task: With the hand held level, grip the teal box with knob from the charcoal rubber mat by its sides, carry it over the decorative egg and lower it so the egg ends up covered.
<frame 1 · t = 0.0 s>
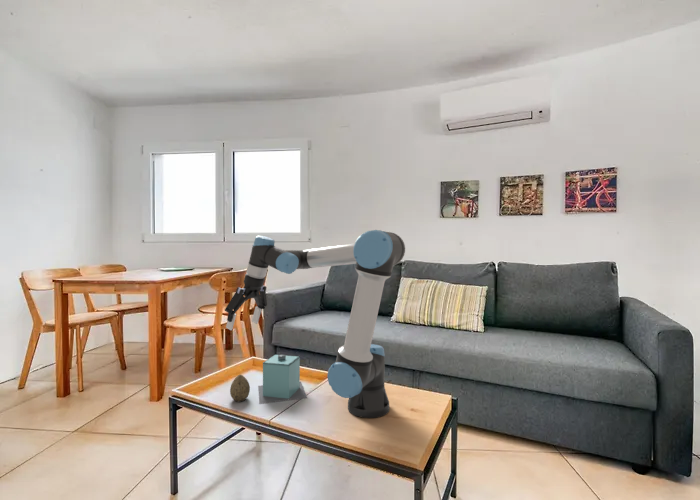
hand: (242, 325, 135), 28 cm above the table, tool tilted 20°, fingers open, 13 cm apart
teal box with knob: (281, 391, 138), resting on mat
decorative egg: (240, 401, 130), on the table
mat: (281, 392, 138), on the table
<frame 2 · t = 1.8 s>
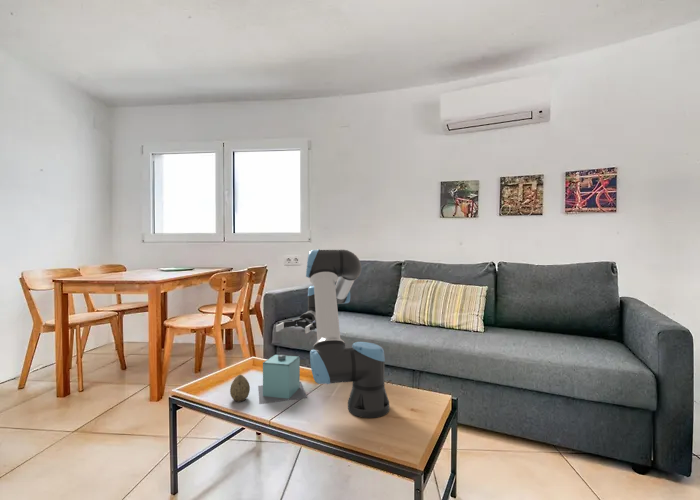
hand: (291, 329, 147), 24 cm above the table, tool horizontal, fingers open, 13 cm apart
nothing on the table moved.
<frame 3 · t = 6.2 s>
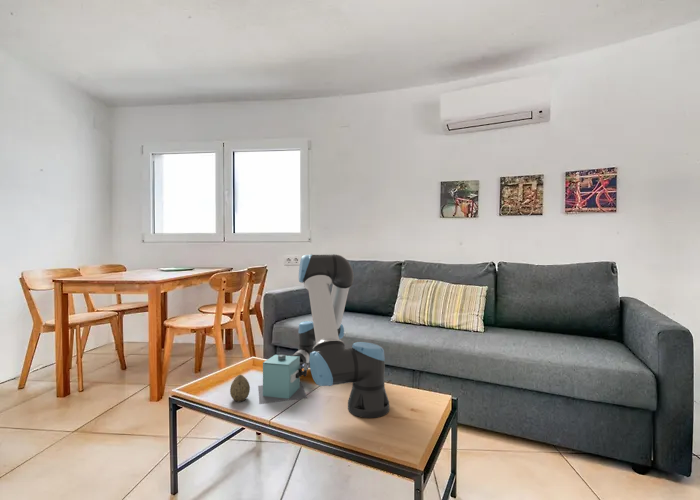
hand: (277, 377, 134), 7 cm above the table, tool horizontal, fingers closed on teal box with knob, 11 cm apart
teal box with knob: (281, 391, 138), point 1 cm above the table, touching gripper, mat
everything else where it was.
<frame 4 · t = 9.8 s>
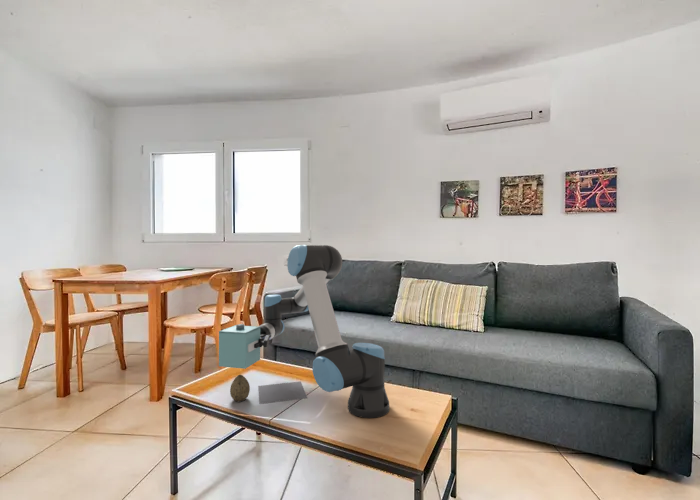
hand: (234, 347, 127), 21 cm above the table, tool horizontal, fingers closed on teal box with knob, 11 cm apart
teal box with knob: (240, 362, 130), point 14 cm above the table, touching gripper
everything else where it was.
when the fingers open (8 cm above the table, at t = 13.3 s): teal box with knob drops 1 cm, resting on mat.
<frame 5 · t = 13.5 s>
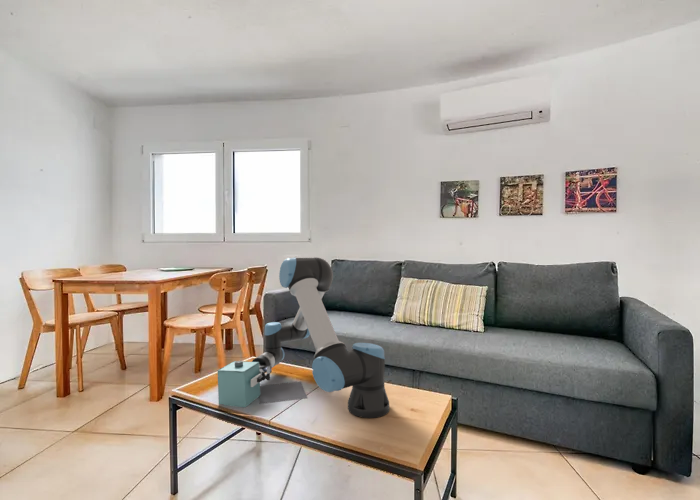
hand: (235, 381, 127), 8 cm above the table, tool horizontal, fingers open, 13 cm apart
teal box with knob: (240, 400, 130), resting on mat
everything else where it was.
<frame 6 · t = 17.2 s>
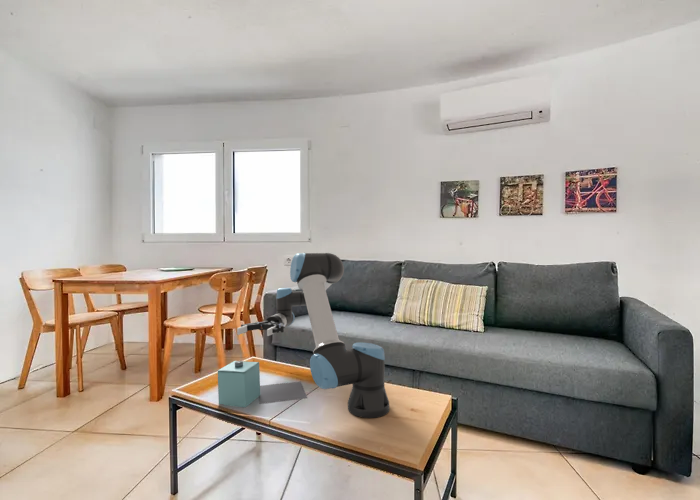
hand: (252, 332, 141), 24 cm above the table, tool horizontal, fingers open, 13 cm apart
nothing on the table moved.
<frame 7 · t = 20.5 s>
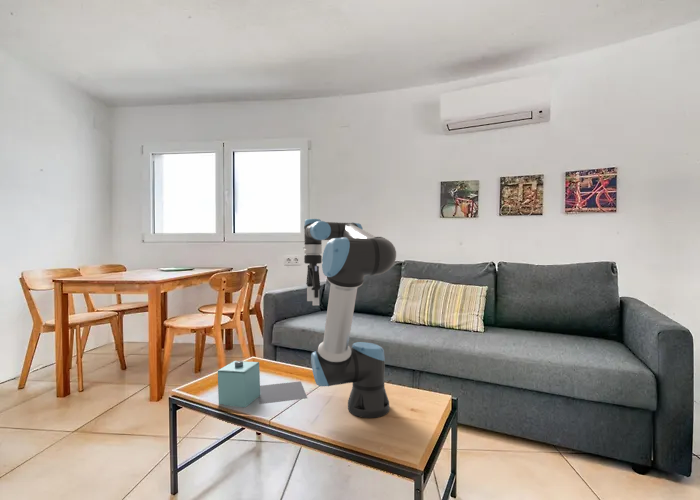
hand: (312, 303, 149), 35 cm above the table, tool pointing down, fingers open, 13 cm apart
nothing on the table moved.
at the end: teal box with knob 0.1 cm from the decorative egg (horizontally); teal box with knob on the table; teal box with knob tilted 2° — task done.
